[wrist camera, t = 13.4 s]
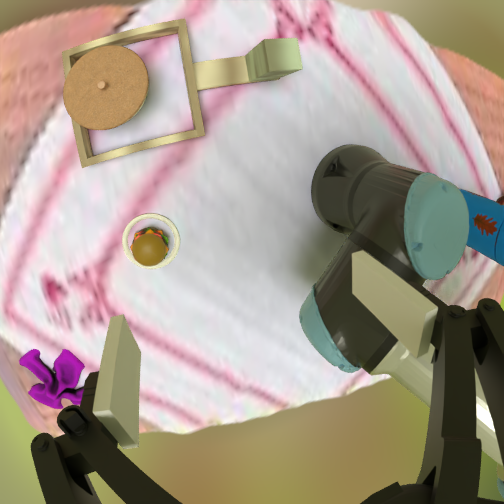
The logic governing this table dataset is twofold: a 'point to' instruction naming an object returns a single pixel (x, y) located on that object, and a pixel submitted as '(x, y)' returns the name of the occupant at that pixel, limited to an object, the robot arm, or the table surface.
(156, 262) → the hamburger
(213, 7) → the table surface
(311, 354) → the table surface
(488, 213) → the thermos
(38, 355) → the cloth
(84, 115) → the lidded jar
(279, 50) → the pull frame
